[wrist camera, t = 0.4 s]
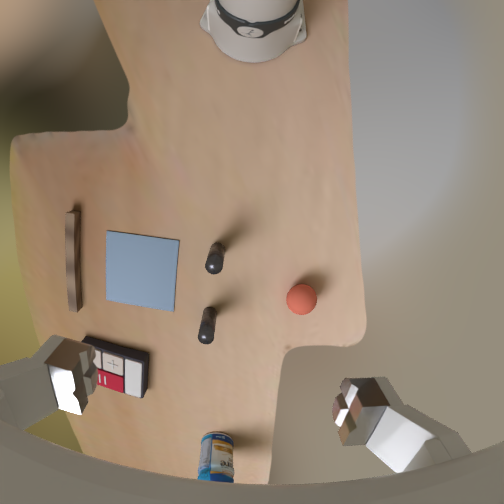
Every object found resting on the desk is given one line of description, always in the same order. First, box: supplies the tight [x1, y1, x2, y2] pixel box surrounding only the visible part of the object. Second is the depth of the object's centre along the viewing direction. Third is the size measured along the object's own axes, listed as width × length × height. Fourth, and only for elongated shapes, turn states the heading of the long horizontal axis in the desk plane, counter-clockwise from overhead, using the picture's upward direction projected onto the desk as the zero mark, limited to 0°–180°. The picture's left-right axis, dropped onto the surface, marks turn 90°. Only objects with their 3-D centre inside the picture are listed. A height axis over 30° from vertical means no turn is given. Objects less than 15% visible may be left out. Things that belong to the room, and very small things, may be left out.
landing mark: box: [106, 231, 179, 312], centre depth 56 cm, size 14×14×1 cm
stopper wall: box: [65, 211, 82, 312], centre depth 54 cm, size 20×2×2 cm, turn 171°
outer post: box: [198, 307, 217, 344], centre depth 55 cm, size 3×3×9 cm
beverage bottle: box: [198, 432, 234, 483], centre depth 60 cm, size 8×8×20 cm
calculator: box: [81, 336, 149, 398], centre depth 60 cm, size 11×4×15 cm
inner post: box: [205, 243, 225, 274], centre depth 51 cm, size 3×3×9 cm
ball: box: [286, 284, 317, 315], centre depth 56 cm, size 6×6×6 cm
